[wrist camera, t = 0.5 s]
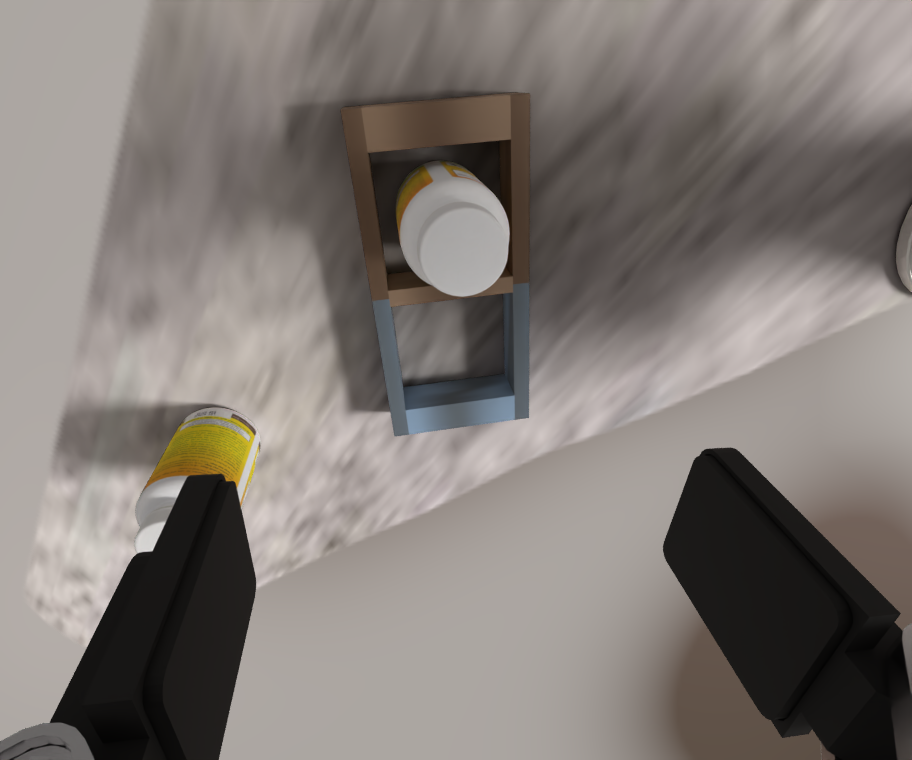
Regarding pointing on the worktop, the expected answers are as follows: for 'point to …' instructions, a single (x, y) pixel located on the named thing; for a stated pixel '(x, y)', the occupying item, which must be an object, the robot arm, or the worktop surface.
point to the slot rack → (449, 399)
